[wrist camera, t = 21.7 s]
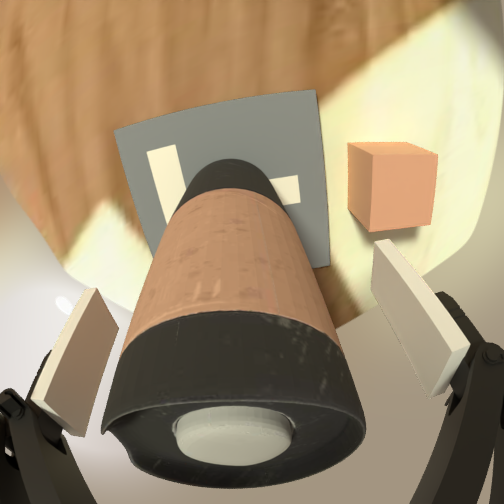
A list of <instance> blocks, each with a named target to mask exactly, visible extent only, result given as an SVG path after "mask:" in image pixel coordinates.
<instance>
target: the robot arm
mask: <svg viewBox="0 0 504 504" xmlns="http://www.w3.org/2000/svg"><path fill="white" fill-rule="evenodd" d="M371 291H372V293H373V295H374V296H375V298H376V300H377V302H378V303H379V305H380V307H381V308H382V310H383V312H384V314H385V316H386V318H387V319H388V321H389V323H390V325H391V327H392V329H393V330H394V332H395V334H396V336H397V338H398V340H399V342H400V344H401V346H402V347H403V350H404V351H405V353H406V355H407V357H408V359H409V361H410V363H411V365H412V367H413V369H414V371H415V373H416V375H417V378H418V380H419V382H420V384H421V386H422V388H423V390H424V392H425V394H426V397H427V399H430V398H432V397H435V396H437V395H440V394H442V393H444V392H445V390H446V389H447V387H448V386H449V384H450V385H451V387H452V388H453V392H452V393H451V395H450V396H449V398H448V399H447V401H446V403H445V406H447V405H448V408H447V411H446V414H445V418H444V421H443V424H442V427H441V430H440V433H439V436H438V439H437V442H436V444H435V447H434V450H433V452H432V455H431V457H430V460H429V462H428V465H427V467H426V470H425V472H424V474H423V476H422V479H421V481H420V483H419V485H418V488H417V489H416V491H415V493H414V496H413V498H412V500H411V501H410V504H477V501H478V499H479V496H480V493H481V490H482V487H483V484H484V481H485V478H486V475H487V471H488V468H489V464H490V461H491V458H492V454H493V450H494V464H493V477H492V486H491V494H490V501H489V504H504V350H503V349H502V348H500V346H498V345H496V344H494V343H487V342H485V340H484V339H483V338H482V336H481V335H480V334H479V332H478V331H477V329H476V328H475V326H474V325H473V324H472V322H471V321H470V320H469V318H468V317H467V316H465V313H464V312H463V310H462V309H460V306H459V305H458V304H457V303H456V301H455V300H454V299H453V298H452V297H451V296H449V295H448V294H446V293H445V292H443V291H442V292H438V293H435V294H434V293H433V291H432V290H431V289H430V288H429V286H428V285H427V284H426V282H425V281H424V280H423V279H422V277H421V276H420V275H419V274H418V272H417V271H416V270H415V269H414V268H413V266H412V265H411V264H410V263H409V261H408V260H407V259H406V258H405V257H404V256H403V254H402V253H401V252H400V251H399V250H398V249H397V247H396V246H395V245H394V244H393V243H392V242H391V240H390V239H385V240H379V241H374V254H373V268H372V280H371ZM118 330H119V327H118V326H117V324H116V322H115V320H114V319H113V317H112V315H111V313H110V312H109V310H108V308H107V306H106V304H105V303H104V300H103V299H102V297H101V295H100V293H99V291H98V289H97V288H92V289H85V290H84V292H83V294H82V296H81V297H80V299H79V301H78V303H77V304H76V306H75V308H74V309H73V311H72V313H71V315H70V317H69V318H68V321H67V322H66V324H65V326H64V328H63V330H62V332H61V334H60V335H59V337H58V339H57V341H56V343H55V345H54V347H53V349H52V350H50V352H49V353H48V354H47V355H46V356H45V358H44V359H43V361H42V364H41V366H40V369H39V370H38V372H37V376H35V379H34V381H33V383H32V385H31V388H30V390H29V393H28V395H27V397H26V399H25V401H24V399H22V398H21V397H20V396H19V395H18V393H17V392H15V390H13V389H12V388H8V389H5V390H4V391H3V392H1V393H0V412H1V413H2V414H1V413H0V504H97V503H96V501H95V499H94V497H93V495H92V494H91V492H90V490H89V488H88V486H87V484H86V482H85V480H84V478H83V476H82V474H81V472H80V470H79V468H78V466H77V464H76V461H75V459H74V457H73V455H72V452H71V450H70V448H69V445H68V443H67V440H66V438H65V437H64V435H62V434H61V433H62V430H63V429H64V430H66V431H67V432H68V433H69V434H70V435H73V436H79V437H85V434H86V430H87V426H88V423H89V419H90V415H91V412H92V408H93V405H94V402H95V398H96V395H97V392H98V388H99V385H100V382H101V379H102V376H103V373H104V370H105V367H106V364H107V361H108V358H109V355H110V352H111V349H112V346H113V344H114V341H115V338H116V335H117V333H118ZM448 403H449V404H448ZM5 447H6V448H7V449H9V450H10V451H11V452H12V455H11V456H9V455H8V454H6V453H5Z"/></svg>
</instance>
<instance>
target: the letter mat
mask: <svg viewBox="0 0 504 504" xmlns="http://www.w3.org/2000/svg"><path fill="white" fill-rule="evenodd" d="M114 134H115V138H116V142H117V146H118V149H119V153H120V157H121V160H122V164H123V168H124V171H125V175H126V178H127V181H128V185H129V188H130V191H131V194H132V198H133V201H134V204H135V207H136V210H137V213H138V216H139V219H140V222H141V225H142V228H143V231H144V234H145V237H146V240H147V243H148V245H149V248H150V251H151V254H152V256H153V259H154V256H155V253H156V251H157V248H158V246H159V243H160V241H161V238H162V236H163V234H164V231H165V229H166V227H167V225H168V223H169V221H170V219H171V217H172V215H173V213H174V211H175V209H176V207H177V206H178V204H179V202H180V200H181V198H182V197H183V195H184V193H185V191H186V189H187V188H188V186H189V184H190V182H191V181H192V179H193V178H194V177H195V175H196V174H197V173H198V172H199V171H200V170H201V169H202V168H204V167H205V166H207V165H208V164H210V163H212V162H215V161H218V160H221V159H240V160H244V161H247V162H249V163H251V164H253V165H255V166H256V167H258V168H259V169H260V170H261V171H262V172H263V173H264V174H265V175H266V176H267V178H268V179H269V181H270V182H271V184H272V186H273V187H274V189H275V191H276V193H277V195H278V197H279V198H280V200H281V202H282V204H283V206H284V208H285V209H286V211H287V213H288V215H289V217H290V219H291V221H292V223H293V225H294V227H295V229H296V231H297V234H298V236H299V238H300V241H301V243H302V246H303V248H304V251H305V253H306V256H307V258H308V260H309V263H310V265H311V268H312V269H313V268H318V267H323V266H329V265H330V253H329V228H328V210H327V195H326V181H325V169H324V158H323V148H322V139H321V130H320V121H319V113H318V106H317V98H316V91H315V90H303V91H292V92H283V93H275V94H267V95H260V96H253V97H247V98H241V99H235V100H229V101H224V102H219V103H214V104H209V105H204V106H200V107H195V108H191V109H187V110H182V111H178V112H174V113H171V114H167V115H163V116H159V117H156V118H152V119H149V120H145V121H142V122H139V123H136V124H132V125H129V126H126V127H123V128H120V129H117V130H114Z"/></svg>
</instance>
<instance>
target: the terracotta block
mask: <svg viewBox="0 0 504 504" xmlns="http://www.w3.org/2000/svg"><path fill="white" fill-rule="evenodd" d="M347 144H348V209H349V210H350V211H351V213H352V214H353V215H354V216H355V217H356V218H357V219H358V220H359V221H360V222H361V224H362V225H363V226H364V227H365V228H366V229H367V230H368V231H369V232H376V231H384V230H392V229H400V228H408V227H416V226H425V225H430V224H431V218H432V211H433V204H434V195H435V186H436V176H437V164H438V155H437V154H435V153H433V152H430V151H428V150H425V149H423V148H420V147H418V146H415V145H412V144H410V143H407V142H355V143H347Z"/></svg>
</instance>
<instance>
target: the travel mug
mask: <svg viewBox="0 0 504 504" xmlns="http://www.w3.org/2000/svg"><path fill="white" fill-rule="evenodd" d="M106 431H110V432H111V433H112V434H113V435H114V436H115V437H116V438H117V439H118V440H119V441H120V442H121V443H122V445H123V446H124V447H125V449H126V451H127V453H128V455H129V458H130V460H131V462H132V463H133V465H134V466H135V467H137V468H139V469H140V470H141V471H144V472H146V473H148V474H150V475H153V476H156V477H158V478H162V479H165V480H168V481H172V482H177V483H181V484H186V485H192V486H199V487H207V488H224V489H226V488H227V489H237V488H240V489H241V488H256V487H265V486H272V485H277V484H283V483H287V482H292V481H295V480H299V479H303V478H305V477H309V476H312V475H314V474H317V473H319V472H322V471H324V470H326V469H328V468H330V467H332V466H334V465H336V464H338V463H339V462H341V461H343V460H344V459H345V458H347V457H348V456H350V455H351V454H352V453H353V452H354V451H355V450H356V449H357V448H358V447H359V445H361V443H362V441H363V439H364V438H365V434H366V422H365V417H364V412H363V409H362V406H361V402H360V400H359V397H358V393H357V391H356V388H355V385H354V381H353V379H352V376H351V373H350V370H349V367H348V364H347V361H346V359H345V356H344V353H343V350H342V347H341V344H340V342H339V339H338V336H337V333H336V331H335V328H334V325H333V322H332V320H331V317H330V314H329V312H328V309H327V306H326V304H325V301H324V299H323V296H322V293H321V291H320V288H319V286H318V283H317V281H316V278H315V275H314V273H313V270H312V268H311V265H310V263H309V260H308V258H307V256H306V253H305V251H304V248H303V246H302V243H301V241H300V238H299V236H298V234H297V231H296V229H295V227H294V225H293V223H292V221H291V219H290V217H289V215H288V213H287V211H286V209H285V208H284V206H283V204H282V202H281V200H280V198H279V197H278V195H277V193H276V191H275V189H274V187H273V186H272V184H271V182H270V181H269V179H268V178H267V176H266V175H265V174H264V173H263V172H262V171H261V170H260V169H259V168H258V167H256V166H255V165H253V164H251V163H249V162H247V161H244V160H240V159H221V160H218V161H215V162H212V163H210V164H208V165H207V166H205V167H204V168H202V169H201V170H200V171H199V172H198V173H197V174H196V175H195V177H194V178H193V179H192V181H191V182H190V184H189V186H188V188H187V189H186V191H185V193H184V195H183V197H182V198H181V200H180V202H179V204H178V206H177V207H176V209H175V211H174V213H173V215H172V217H171V219H170V221H169V223H168V225H167V227H166V229H165V231H164V234H163V236H162V238H161V241H160V243H159V246H158V248H157V251H156V253H155V256H154V259H153V261H152V264H151V266H150V269H149V272H148V274H147V277H146V280H145V282H144V285H143V288H142V291H141V293H140V296H139V299H138V302H137V305H136V308H135V311H134V314H133V317H132V320H131V323H130V326H129V329H128V332H127V335H126V338H125V342H124V345H123V348H122V351H121V355H120V358H119V362H118V365H117V368H116V371H115V375H114V379H113V382H112V386H111V389H110V393H109V397H108V401H107V405H106V409H105V412H104V416H103V420H102V425H101V434H102V435H103V434H104V433H105V432H106Z"/></svg>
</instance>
